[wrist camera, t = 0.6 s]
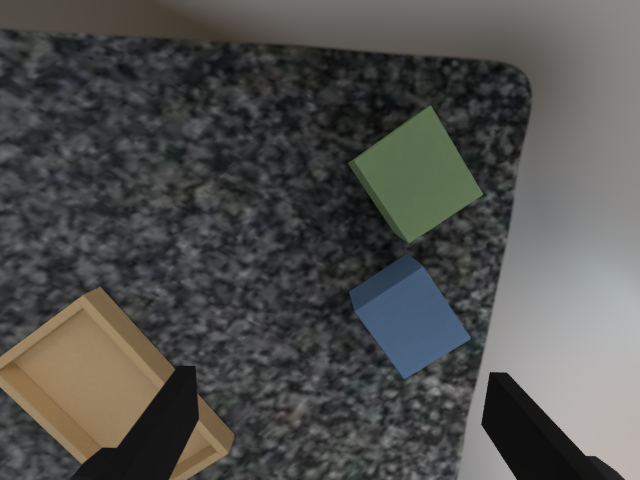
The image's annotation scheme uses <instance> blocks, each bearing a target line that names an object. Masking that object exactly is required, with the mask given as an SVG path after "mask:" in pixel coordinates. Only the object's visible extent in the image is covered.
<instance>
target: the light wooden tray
mask: <svg viewBox="0 0 640 480" xmlns="http://www.w3.org/2000/svg"><path fill="white" fill-rule="evenodd" d="M174 371H175V368H174V367H173V366H172V365H171V364H170V363H169V362H168V361H167V359H166V358H165V357H164V356H163V355H162V354H161V353H160V352H159V351H158V350H157V348H156V347H155V346H154V345H153V344H152V343H151V342H150V341H149V340H148V339H147V337H146V336H145V335H144V334H143V333H142V332H141V331H140V330H139V329H138V327H137V326H136V325H135V324H134V323H133V322H132V321H131V320H130V319H129V318H128V316H127V315H126V314H125V313H124V312H123V311H122V310H121V309H120V308H119V307H118V305H117V304H116V303H115V302H114V301H113V300H112V299H111V298H110V297H109V296H108V294H107V293H106V292H105V291H104V290H103V289H102V288H101V287H98V288H96V289H94V290H92V291H90V292H88V293H86V294H84V295H82V296H81V297H80V298H78V299H77V300H76V301H74V302H73V303H72V304H70V305H69V306H68V307H66V308H65V309H64V310H62V311H61V312H60V313H58V314H57V315H56V316H54V317H53V318H52V319H50V320H49V321H48V322H46V323H45V324H44V325H42V326H41V327H40V328H38V329H37V330H36V331H34V332H33V333H32V334H30V335H29V336H28V337H26V338H25V339H24V340H22V341H21V342H20V343H18V344H17V345H16V346H14V347H13V348H12V349H10V350H9V351H8V352H6V353H5V354H4V355H2V356H1V357H0V387H1V388H2V389H3V390H4V391H5V392H6V393H7V394H8V395H9V396H10V397H11V398H12V399H13V400H15V401H16V402H17V403H18V404H19V405H20V406H21V407H22V408H23V409H24V410H25V411H26V412H27V413H28V414H29V415H30V416H31V417H33V418H34V419H35V420H36V421H37V422H38V423H39V424H40V425H41V426H42V427H43V428H44V429H45V430H46V431H47V432H48V433H49V434H51V435H52V436H53V437H54V438H55V439H56V440H57V441H58V442H59V443H60V444H61V445H62V446H63V447H64V448H65V449H66V450H67V451H68V452H70V453H71V454H72V455H73V456H74V457H75V458H76V459H77V460H78V461H79V462H80V463H81V464H83V463H84V462H85V461H86V460H87V459H89V458H90V457H91V456H92V455H94V454H95V453H96V452H97V451H99V450H100V449H101V448H102V447H107V448H117V447H118V445H119V444H120V443H121V441H122V440H123V439H124V437H125V436H126V435H127V433H128V432H129V431H130V429H131V428H132V427H133V425H134V424H135V423H136V421H137V420H138V419H139V417H140V416H141V415H142V413H143V412H144V411H145V409H146V408H147V407H148V405H149V404H150V403H151V401H152V400H153V399H154V397H155V396H156V395H157V393H158V392H159V391H160V389H161V388H162V387H163V385H164V384H165V383H166V381H167V380H168V379H169V377H170V376H171V375H172V373H173V372H174ZM197 395H198V394H197ZM198 408H199V420H198V422H197V424H196V426H195V428H194V430H193V432H192V434H191V436H190V438H189V440H188V442H187V444H186V446H185V448H184V450H183V452H182V454H181V456H180V458H179V460H178V462H177V464H176V466H175V468H174V470H173V472H172V475H171V477H170V479H169V480H187V479H188V478H190V477H191V476H193V475H195V474H196V473H198V472H200V471H201V470H203V469H204V468H206V467H208V466H209V465H211V464H212V463H214V462H216V461H217V460H219V459H220V458H222V457H224V456H225V455H227V454H229V452H230V449H231V445H232V442H233V439H234V436H235V434H234V433H233V432H232V431H231V430H230V429H229V428H228V427H227V426H226V424H225V423H224V422H223V421H222V420H221V419H220V418H219V417H218V416H217V415H216V413H215V412H214V411H213V410H212V409H211V408H210V407H209V406H208V405H207V404H206V402H205V401H204V400H203V399H202V398H201V397H200V396H199V395H198Z"/></svg>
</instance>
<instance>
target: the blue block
mask: <svg viewBox="0 0 640 480" xmlns="http://www.w3.org/2000/svg"><path fill="white" fill-rule="evenodd" d="M349 293H350V297H351V300H352V304H353V308H354V311H355V313H356V314H357V316H358V317H359V319H360V320H361V321H362V323H363V324H364V325H365V327H366V328H367V329H368V331H369V332H370V334H371V335H372V336H373V338H374V339H375V340H376V342H377V343H378V344H379V346H380V347H381V348H382V350H383V351H384V353H385V354H386V355H387V357H388V358H389V359H390V361H391V362H392V363H393V365H394V366H395V368H396V369H397V370H398V372H399V373H400V374H401V376H402V377H403V378H404V379H405V378H407V377H409V376H410V375H412V374H414V373H415V372H417V371H419V370H420V369H422V368H424V367H425V366H427V365H429V364H430V363H432V362H434V361H435V360H437V359H438V358H440V357H442V356H443V355H445V354H447V353H448V352H450V351H452V350H453V349H455V348H457V347H458V346H460V345H462V344H463V343H465V342H467V341H468V340H470V339H471V338H470V336H469V335H468V333H467V332H466V330H465V329H464V327H463V326H462V324H461V322H460V321H459V319H458V318H457V316H456V315H455V313H454V312H453V310H452V309H451V307H450V306H449V304H448V303H447V301H446V300H445V298H444V297H443V295H442V294H441V292H440V291H439V289H438V288H437V286H436V285H435V283H434V282H433V280H432V279H431V277H430V276H429V274H428V273H427V271H426V270H425V268H424V267H423V266H422V265H421V264H420V263H418V262H417V261H416V260H415V259H414V258H412V257H411V256H410V255H409V254H405V255H404V256H402V257H401V258H399V259H398V260H396V261H395V262H393V263H392V264H390V265H389V266H387V267H386V268H384V269H383V270H381V271H380V272H378V273H377V274H375V275H374V276H372V277H371V278H369V279H368V280H366V281H364V282H363V283H361V284H360V285H358V286H357V287H355V288H354V289H352V290H351V291H349Z"/></svg>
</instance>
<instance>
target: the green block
mask: <svg viewBox="0 0 640 480" xmlns="http://www.w3.org/2000/svg"><path fill="white" fill-rule="evenodd" d="M348 165H349V166H350V168H351V169H352V171H353V172H354V174H355V175H356V177H357V178H358V180H359V181H360V183H361V184H362V186H363V187H364V189H365V190H366V192H367V193H368V195H369V196H370V198H371V199H372V201H373V202H374V204H375V205H376V207H377V208H378V210H379V211H380V213H381V214H382V216H383V217H384V219H385V220H386V222H387V223H388V225H389V226H390V228H391V229H392V231H393V232H394V234H396V235H397V236H399V237H400V238H401V239H403V240H404V241H406V242H407V243H411V242H412V241H414V240H415V239H417V238H418V237H420V236H421V235H423V234H424V233H426V232H427V231H429V230H430V229H432V228H433V227H435V226H437V225H438V224H440V223H441V222H443V221H444V220H446V219H447V218H449V217H450V216H452V215H453V214H455V213H456V212H458V211H459V210H461V209H462V208H464V207H465V206H467V205H468V204H470V203H471V202H473V201H474V200H476V199H477V198H479V197H480V196H482V195H483V193H482V192H481V190H480V188H479V187H478V185H477V183H476V182H475V180H474V178H473V176H472V175H471V173H470V171H469V170H468V168H467V166H466V165H465V163H464V161H463V159H462V158H461V156H460V154H459V153H458V151H457V149H456V147H455V146H454V144H453V142H452V141H451V139H450V137H449V136H448V134H447V132H446V130H445V129H444V127H443V125H442V124H441V122H440V120H439V119H438V117H437V115H436V113H435V112H434V110H433V108H432V107H431V105H430V106H428V107H427V108H425V109H424V110H422V111H421V112H419V113H418V114H416V115H415V116H413V117H412V118H410V119H409V120H407V121H406V122H405V123H403V124H402V125H400V126H399V127H398V128H396V129H395V130H394V131H392V132H391V133H389V134H388V135H387V136H385V137H384V138H382V139H381V140H380V141H378V142H377V143H375V144H374V145H373V146H371V147H370V148H369V149H367V150H366V151H364V152H363V153H362V154H360V155H359V156H357V157H356V158H355V159H353V160H352V161H350V162H349V163H348Z"/></svg>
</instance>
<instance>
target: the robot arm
mask: <svg viewBox="0 0 640 480" xmlns="http://www.w3.org/2000/svg"><path fill="white" fill-rule="evenodd" d="M198 420H199V408H198V395H197V382H196V368H195V366H178V367H177V368H176V369H175V371H174V372H173V373H172V375H171V376H170V377H169V379H168V380H167V381H166V383H165V384H164V385H163V387H162V388H161V389H160V391H159V392H158V393H157V395H156V396H155V397H154V399H153V400H152V401H151V403H150V404H149V405H148V407H147V408H146V409H145V411H144V412H143V413H142V415H141V416H140V417H139V419H138V420H137V421H136V423H135V424H134V425H133V427H132V428H131V429H130V431H129V432H128V433H127V435H126V436H125V437H124V439H123V440H122V441H121V443H120V444H119V445H118V447H117V448H107V447H102V448H101V449H100V450H99V451H97V452H96V453H95V454H94V455H92V456H91V457H90V458H89V459H87V460H86V461H85V462H84V463H83V464H82V465H81V467H80V468H79V469H78V470H77V471H76V473H75V474H74V475H73V476H72V477H71V480H169V479H170V477H171V475H172V472H173V470H174V468H175V466H176V464H177V462H178V460H179V458H180V456H181V454H182V452H183V450H184V448H185V446H186V444H187V442H188V440H189V438H190V436H191V434H192V432H193V430H194V428H195V426H196V424H197V422H198ZM481 425H482V426H483V428H484V429H485V431H486V432H487V434H488V435H489V437H490V439H491V440H492V442H493V443H494V445H495V446H496V448H497V450H498V451H499V453H500V454H501V456H502V457H503V459H504V460H505V462H506V463H507V465H508V467H509V468H510V470H511V471H512V473H513V474H514V476H515V477H516V479H517V480H625V479H624V478H622V476H621V475H620V474H619V473H618V472H617V471H615V470H614V469H613V468H611V467H610V466H608V465H607V464H606V463H604V462H603V461H601V460H600V459H599V458H597V457H596V456H585V455H584V454H583V452H582V451H580V449H579V448H578V447H577V446H576V445H575V444H574V443H573V442H572V441H571V440H570V439H569V438H568V437H567V436H566V435H565V433H564V432H563V431H562V430H561V429H560V428H559V427H558V426H557V425H556V424H555V423H554V422H553V421H552V420H551V419H550V418H549V417H548V416H547V415H546V413H545V412H544V411H543V410H542V409H541V408H540V407H539V406H538V405H537V404H536V403H535V402H534V401H533V400H532V399H531V398H530V396H528V394H527V393H526V392H525V391H524V390H523V389H522V388H521V387H520V386H519V385H518V384H517V383H516V382H515V381H514V380H513V379H512V377H511V376H510V375H509V374H508V373H498V372H490V375H489V381H488V387H487V393H486V399H485V405H484V411H483V417H482V424H481Z"/></svg>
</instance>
